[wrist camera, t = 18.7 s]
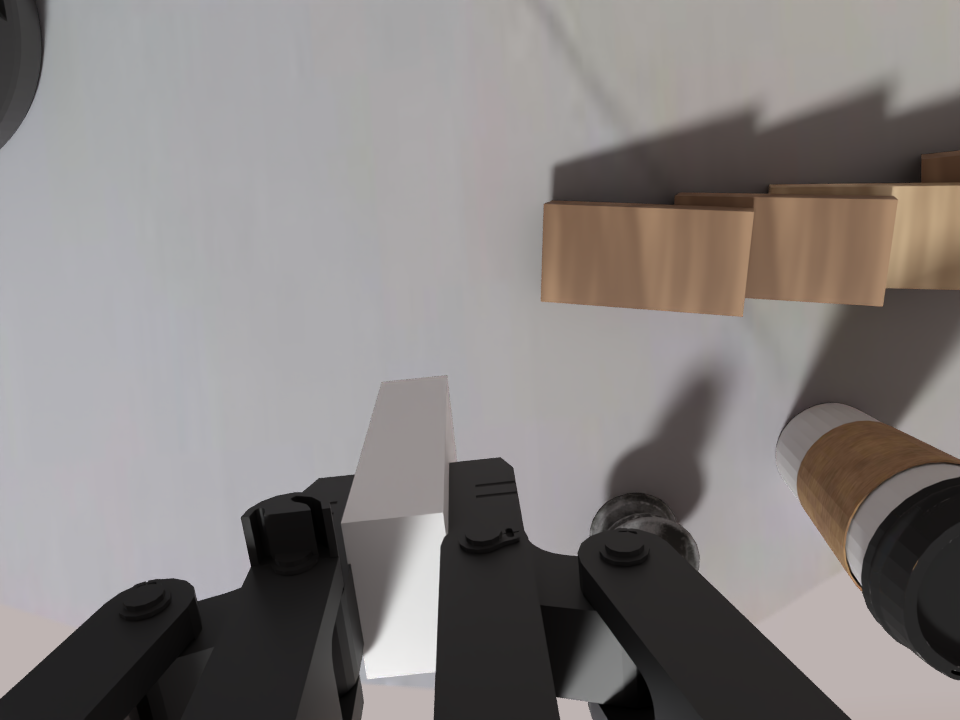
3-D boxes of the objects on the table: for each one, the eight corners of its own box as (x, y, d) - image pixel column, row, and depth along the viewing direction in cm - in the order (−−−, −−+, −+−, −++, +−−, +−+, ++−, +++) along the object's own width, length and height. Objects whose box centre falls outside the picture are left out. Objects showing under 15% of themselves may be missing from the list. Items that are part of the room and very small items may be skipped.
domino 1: (540, 301, 40) (742, 316, 37) (543, 203, 38) (754, 211, 36) (549, 293, 42) (742, 307, 39) (552, 200, 40) (753, 207, 37)
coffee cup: (732, 496, 46) (861, 665, 31) (785, 365, 43) (949, 482, 29) (861, 527, 47) (1043, 705, 32) (919, 400, 44) (1143, 530, 30)
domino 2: (669, 293, 40) (883, 306, 36) (674, 195, 39) (898, 199, 35) (674, 285, 42) (879, 297, 38) (680, 192, 40) (893, 195, 37)
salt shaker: (578, 572, 47) (619, 716, 35) (591, 485, 45) (638, 606, 34) (673, 578, 47) (744, 722, 36) (689, 491, 45) (768, 613, 34)
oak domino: (763, 285, 40) (982, 290, 37) (771, 187, 39) (999, 185, 36) (762, 278, 42) (970, 282, 39) (769, 184, 40) (985, 182, 38)
